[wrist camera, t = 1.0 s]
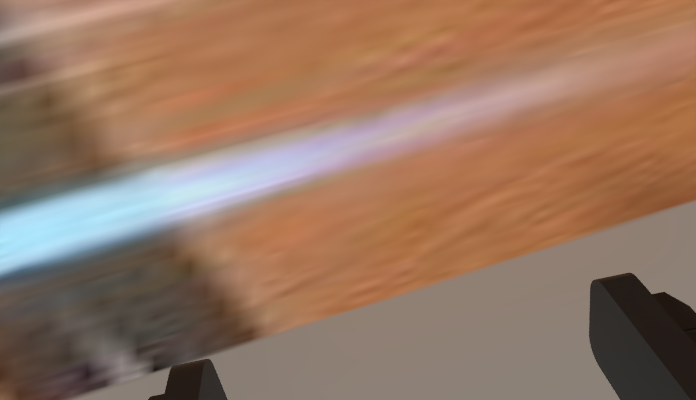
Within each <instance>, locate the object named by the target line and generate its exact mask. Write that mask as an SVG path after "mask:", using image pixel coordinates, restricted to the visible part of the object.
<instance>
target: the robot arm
mask: <svg viewBox="0 0 696 400" xmlns="http://www.w3.org/2000/svg"><path fill="white" fill-rule="evenodd" d="M590 289H591V290H590V324H589V325H590V326H589V338H590V344H591V348H592V351H593V354H594V357H595V359H596V361H597V363H598V365H599V367H600V368H601V370H602V372H603V373H604V375H605V376H606V378H607V379H608V381H609V383H610V384H611V386H612V387H613V389H614V390H615V392H616V393H617V395H618V397H619V398H620V400H696V313H695V312H694V311H693V310H692V309H691V307H690V306H688V305H686V304H685V303H683V302H681V301H679V300H677V299H676V298H674V297H672V296H670V295H668V294H667V293H665V292H662V293H657V294H651V293H650V292H649V291H648V290H647V288H646V287H645V286H644V285H643V284H642V283H641V282H640V280H639V279H638V278H637V277H636V276H635V275H634V274H632V273H625V274H621V275H616V276H611V277H606V278H602V279H596V280H593V281H592V283H591V288H590ZM148 400H227V397H226V395H225V392H224V390H223V387H222V385H221V383H220V380H219V378H218V375H217V373H216V370H215V368H214V365H213V363H212V362H211V360H209V359H204V360H199V361H194V362H189V363H184V364H180V365H175V366H172V368H171V370H170V373H169V377H168V381H167V386H166V390H165V394H161V395H157V396H152V397H150V398H149V399H148Z"/></svg>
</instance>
